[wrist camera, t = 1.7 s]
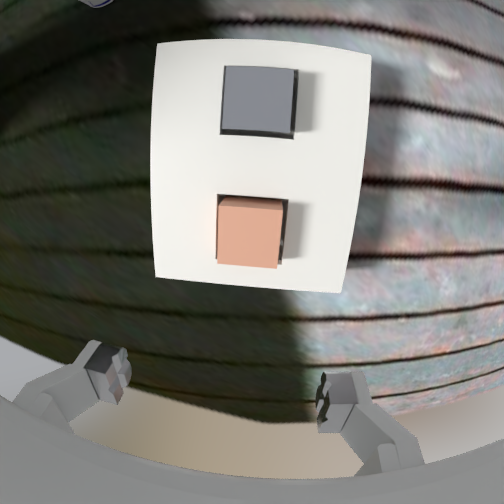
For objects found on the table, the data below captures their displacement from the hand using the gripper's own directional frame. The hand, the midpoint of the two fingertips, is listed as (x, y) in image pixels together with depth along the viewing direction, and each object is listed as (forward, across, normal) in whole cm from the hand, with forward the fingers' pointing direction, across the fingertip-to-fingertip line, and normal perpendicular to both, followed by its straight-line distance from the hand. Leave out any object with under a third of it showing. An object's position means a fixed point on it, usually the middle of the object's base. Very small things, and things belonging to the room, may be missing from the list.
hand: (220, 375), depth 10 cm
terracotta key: (+19, 0, 0) cm, 19 cm away
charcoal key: (+19, 0, -11) cm, 22 cm away
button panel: (+22, 0, -5) cm, 22 cm away
